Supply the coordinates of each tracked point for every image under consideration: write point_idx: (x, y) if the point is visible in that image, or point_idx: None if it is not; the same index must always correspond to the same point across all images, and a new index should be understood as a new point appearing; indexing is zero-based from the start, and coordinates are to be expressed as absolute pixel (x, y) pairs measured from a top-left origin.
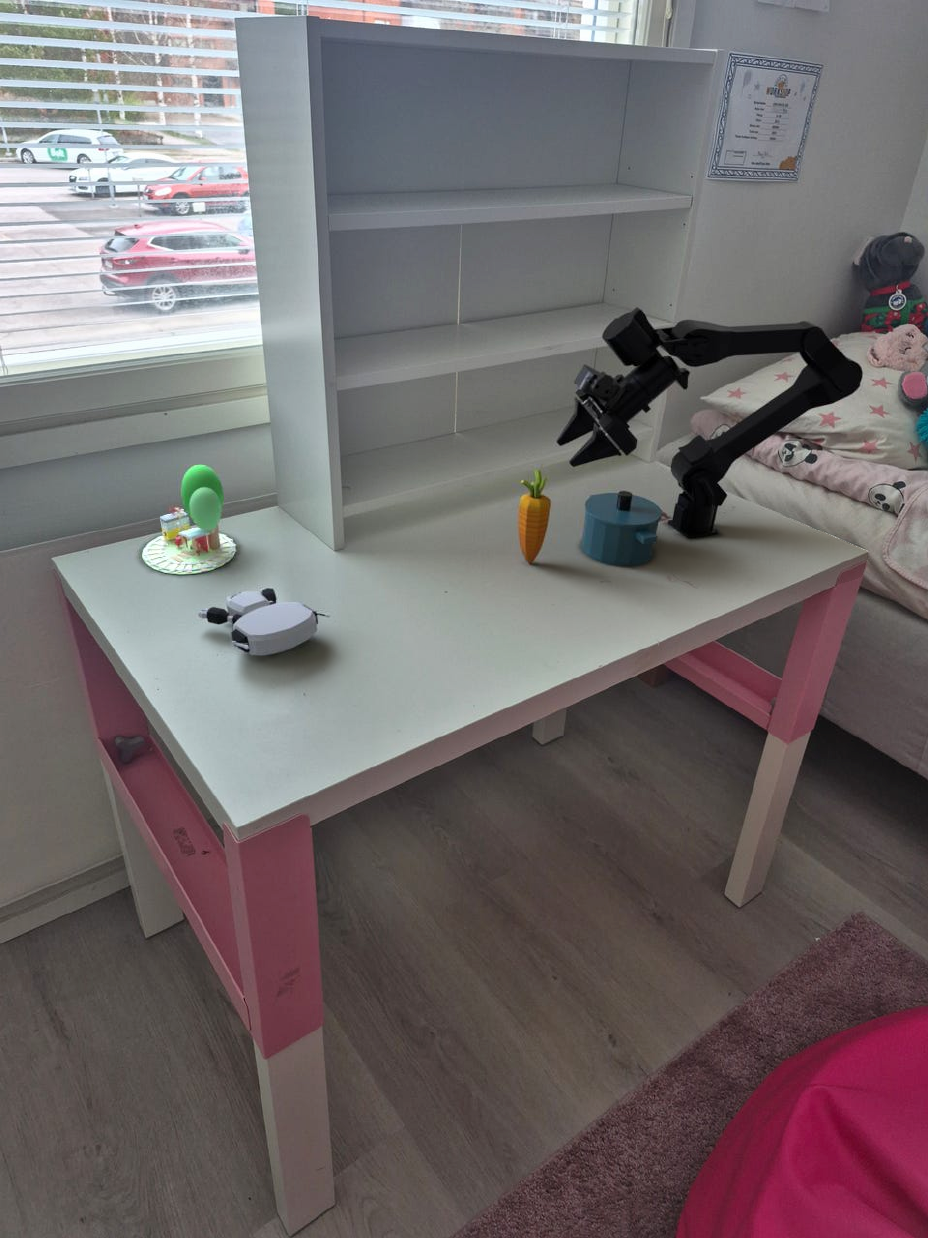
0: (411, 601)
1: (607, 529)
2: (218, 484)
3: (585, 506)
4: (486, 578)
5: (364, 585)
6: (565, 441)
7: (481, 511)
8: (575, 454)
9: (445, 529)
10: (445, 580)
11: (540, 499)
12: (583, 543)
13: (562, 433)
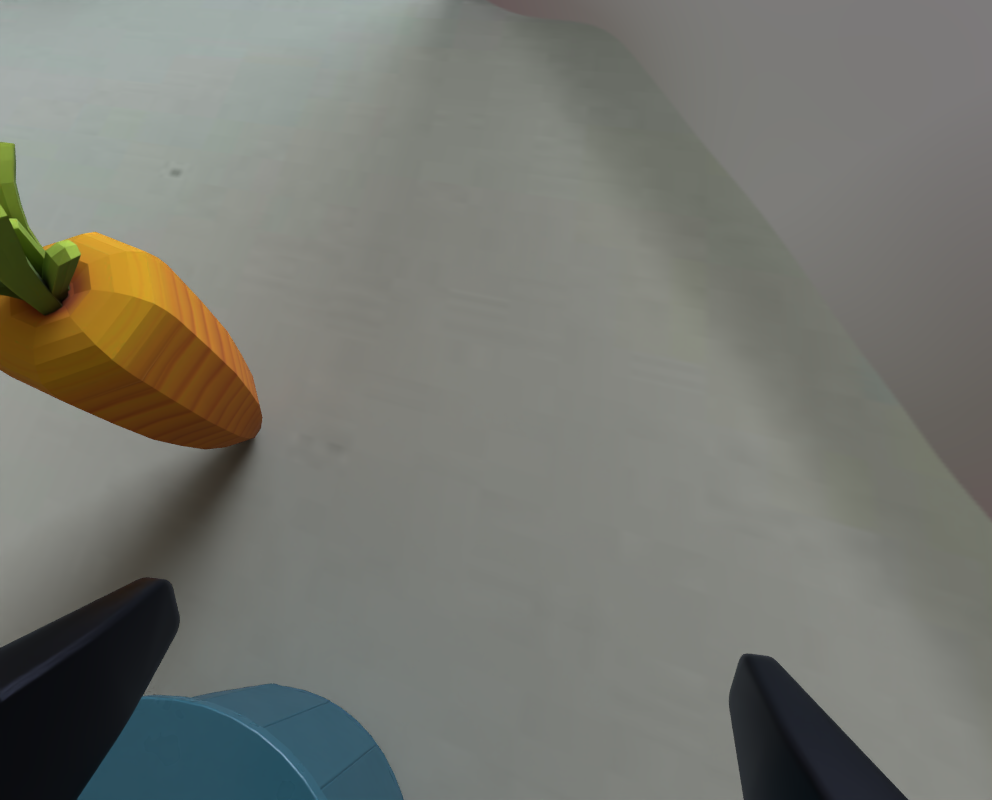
0: (164, 99)
1: None
2: None
3: (201, 707)
4: (205, 280)
5: (274, 25)
6: (745, 768)
7: (702, 370)
8: (73, 634)
9: (555, 229)
10: (234, 180)
11: (5, 304)
12: (269, 686)
13: (815, 743)
